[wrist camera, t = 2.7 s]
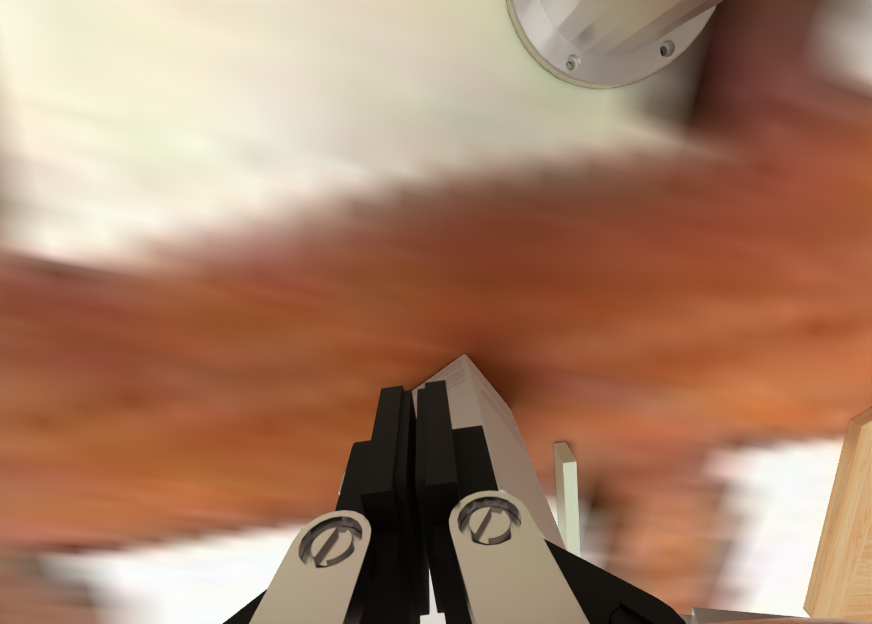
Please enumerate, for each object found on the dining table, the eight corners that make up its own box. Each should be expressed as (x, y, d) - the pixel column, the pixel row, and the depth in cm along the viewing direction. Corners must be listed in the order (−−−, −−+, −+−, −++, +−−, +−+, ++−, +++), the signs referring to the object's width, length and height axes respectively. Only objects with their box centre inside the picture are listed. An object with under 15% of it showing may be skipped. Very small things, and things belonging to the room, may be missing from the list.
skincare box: (430, 463, 34) (433, 679, 20) (378, 406, 33) (339, 595, 18) (515, 407, 33) (589, 593, 18) (466, 344, 31) (502, 493, 17)
